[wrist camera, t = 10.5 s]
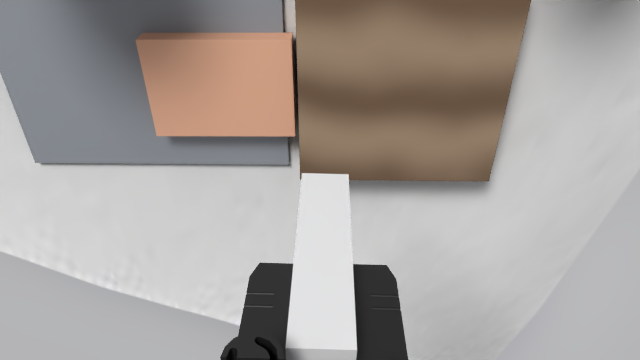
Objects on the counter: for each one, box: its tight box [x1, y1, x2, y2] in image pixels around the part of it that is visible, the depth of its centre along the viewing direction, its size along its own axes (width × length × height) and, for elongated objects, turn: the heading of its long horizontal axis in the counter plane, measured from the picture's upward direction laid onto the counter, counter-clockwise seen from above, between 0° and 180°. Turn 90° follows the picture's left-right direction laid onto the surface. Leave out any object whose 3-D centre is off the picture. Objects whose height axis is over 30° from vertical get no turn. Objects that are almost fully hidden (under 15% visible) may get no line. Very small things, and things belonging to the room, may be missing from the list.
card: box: [136, 33, 296, 137], centre depth 33 cm, size 7×10×2 cm
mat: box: [0, 0, 289, 165], centre depth 34 cm, size 14×20×1 cm
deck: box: [295, 0, 531, 181], centre depth 33 cm, size 14×14×2 cm
